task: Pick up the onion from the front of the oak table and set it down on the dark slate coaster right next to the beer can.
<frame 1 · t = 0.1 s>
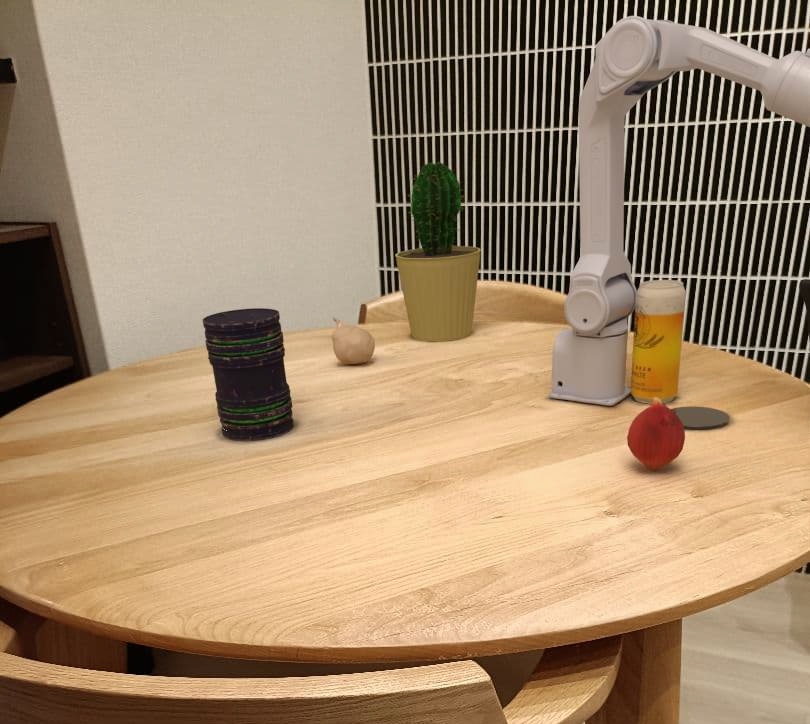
garlic bulb: (355, 365, 138), on the table
potted cactus: (441, 335, 154), on the table
onion: (653, 471, 88), on the table
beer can: (653, 399, 110), on the table
dark purple cylinder: (258, 430, 110), on the table
coaster: (695, 419, 102), on the table
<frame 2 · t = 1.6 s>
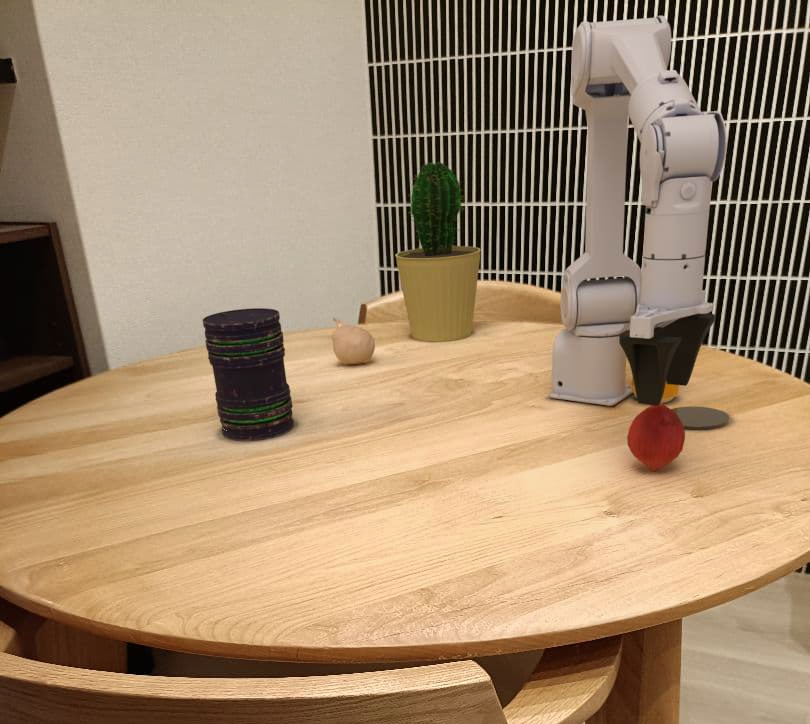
hand: (663, 393, 85), 8 cm above the table, tool pointing down, fingers open, 7 cm apart
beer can: (653, 396, 110), on the table, touching arm
everything else where it was.
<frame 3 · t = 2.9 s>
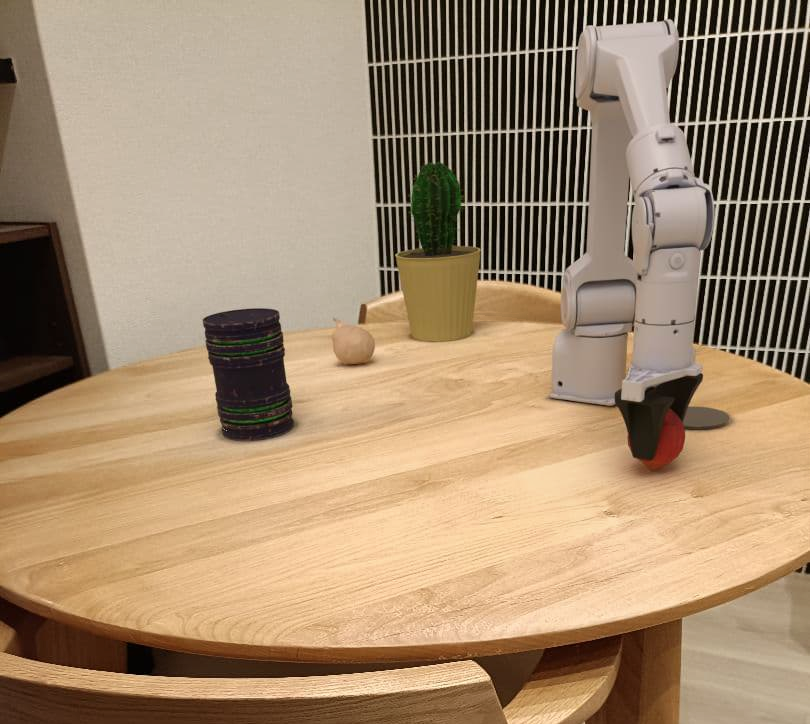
hand: (655, 448, 87), 2 cm above the table, tool pointing down, fingers closed on onion, 6 cm apart
onion: (653, 471, 88), on the table, touching gripper
everything else where it was.
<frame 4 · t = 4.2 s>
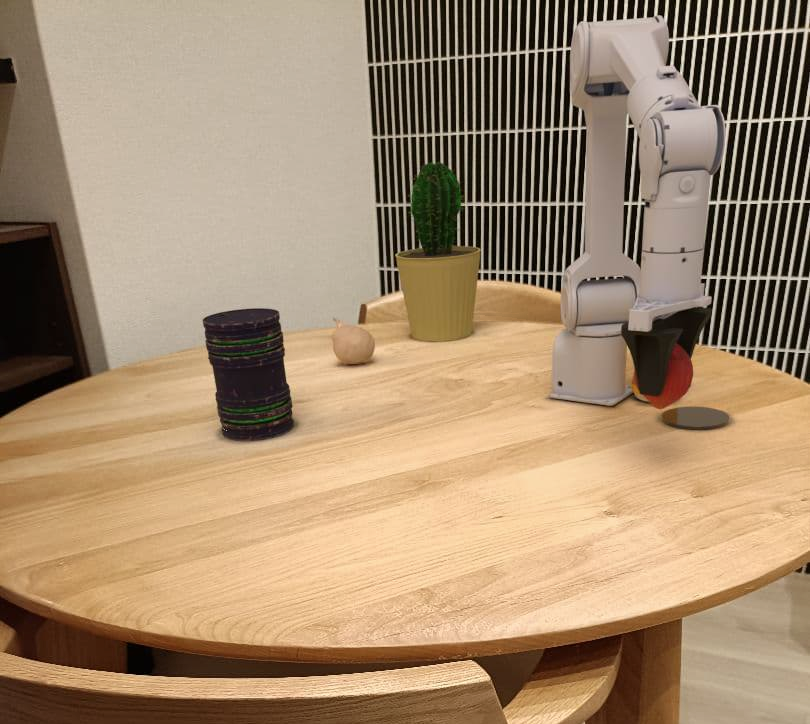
hand: (662, 386, 85), 9 cm above the table, tool pointing down, fingers closed on onion, 6 cm apart
onion: (660, 410, 86), point 6 cm above the table, touching gripper
everything else where it was.
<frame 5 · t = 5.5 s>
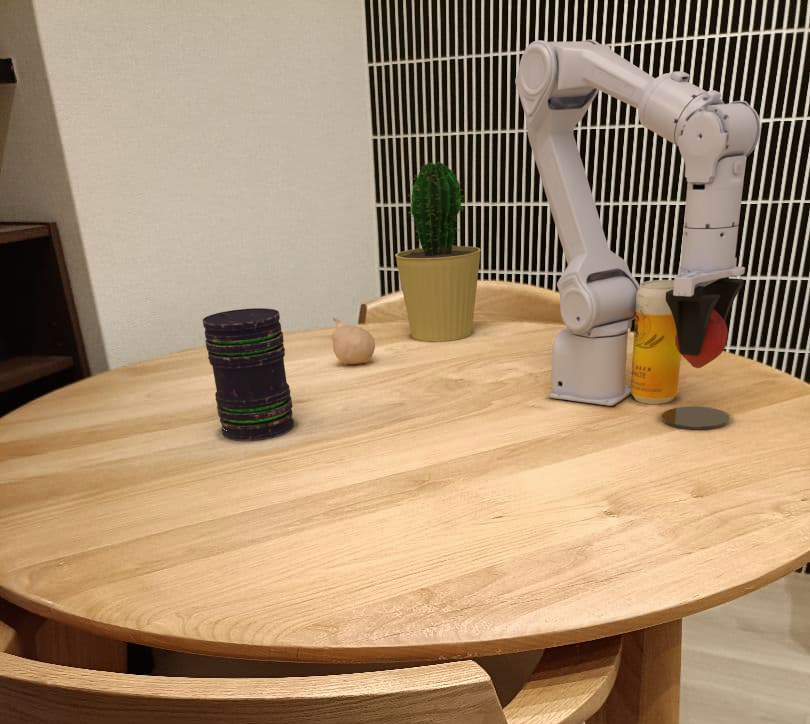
hand: (699, 348, 97), 9 cm above the table, tool pointing down, fingers closed on onion, 6 cm apart
onion: (698, 369, 98), point 7 cm above the table, touching gripper
when the fingers open (3 cm above the table, at t = 7.7 s): onion stays where it is, resting on coaster.
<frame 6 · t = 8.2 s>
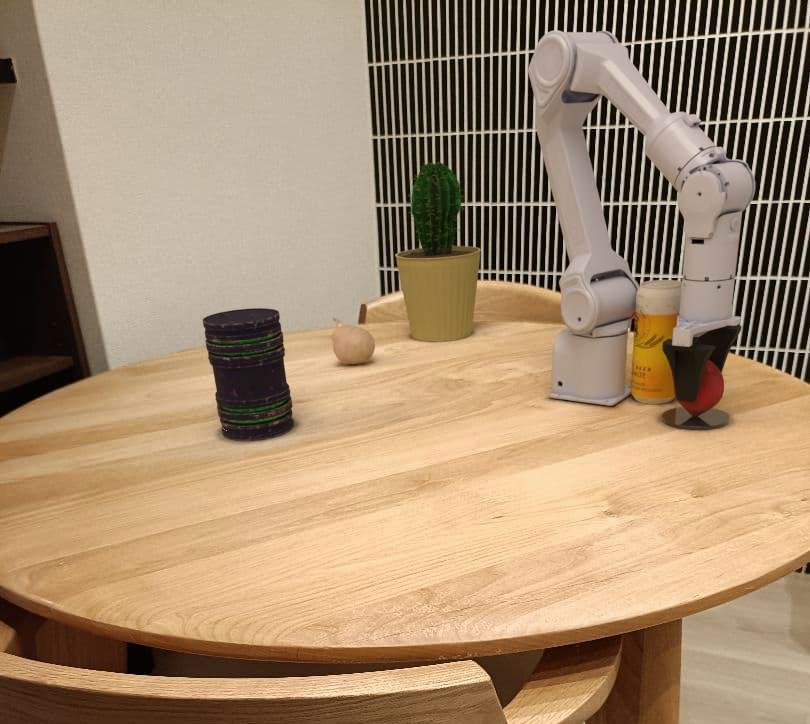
hand: (697, 392, 100), 3 cm above the table, tool pointing down, fingers open, 7 cm apart
onion: (695, 417, 102), resting on coaster
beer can: (653, 399, 110), on the table
everything else where it was.
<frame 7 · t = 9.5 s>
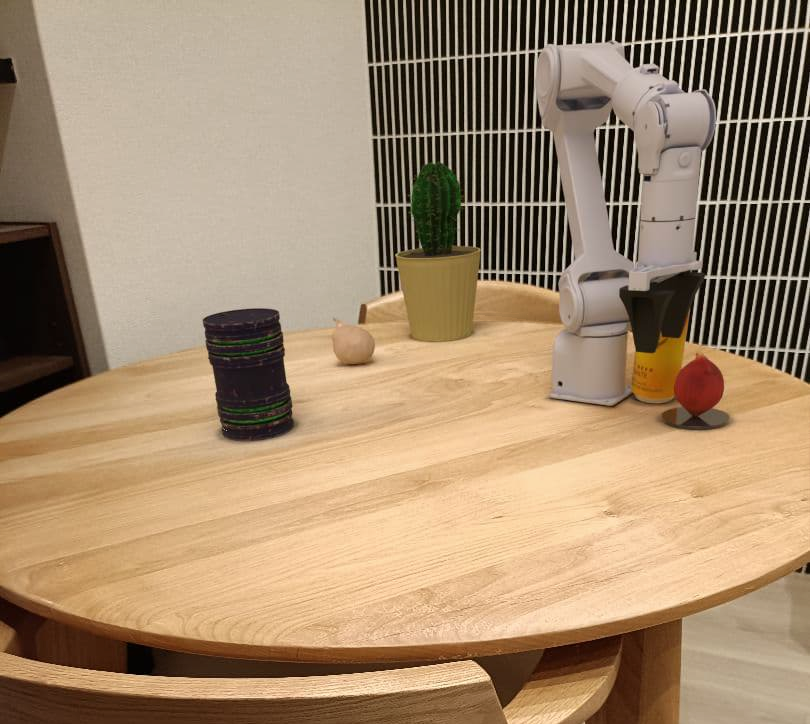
hand: (658, 344, 95), 10 cm above the table, tool pointing down, fingers open, 7 cm apart
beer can: (653, 397, 110), on the table, touching arm
everything else where it was.
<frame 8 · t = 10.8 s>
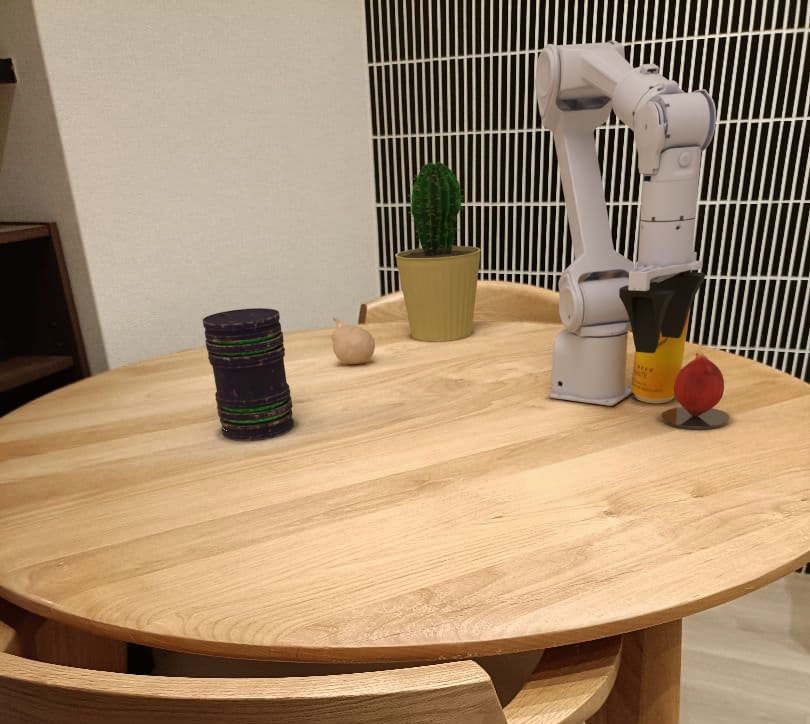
hand: (658, 344, 95), 10 cm above the table, tool pointing down, fingers open, 7 cm apart
nothing on the table moved.
at the end: onion 9.9 cm from the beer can (horizontally); onion 0.1 cm off-centre on the coaster, point 0.2 cm above the coaster's base; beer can moved 0.3 cm from its start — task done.
